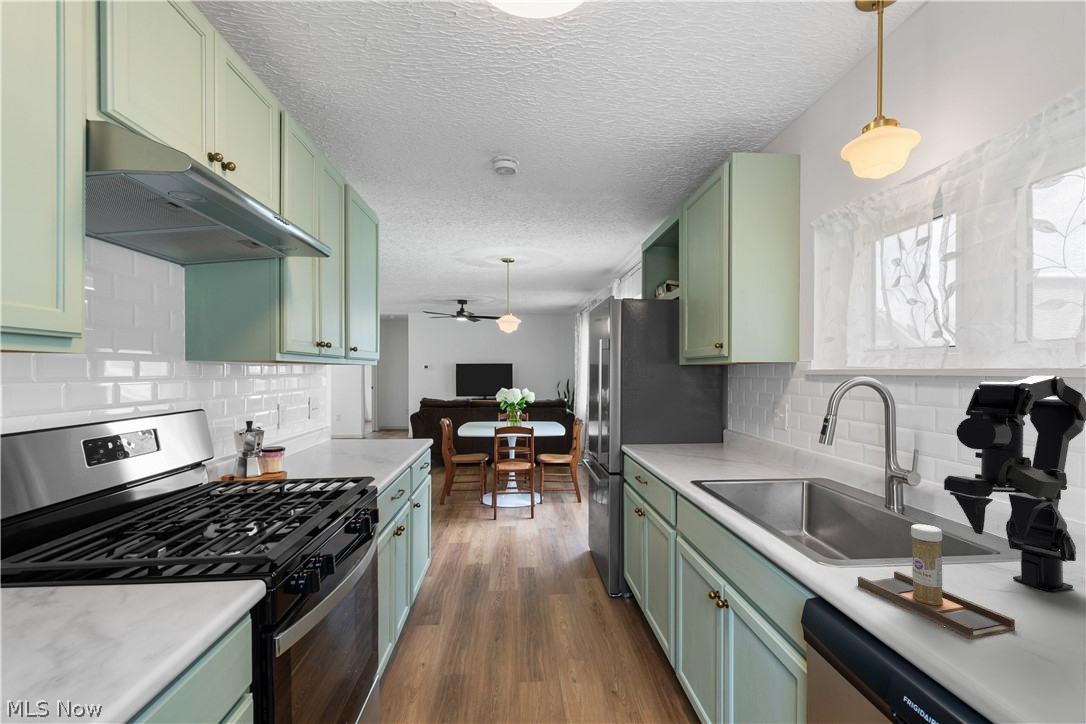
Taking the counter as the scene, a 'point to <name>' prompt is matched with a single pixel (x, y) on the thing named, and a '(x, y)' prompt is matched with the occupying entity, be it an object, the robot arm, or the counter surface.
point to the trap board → (941, 608)
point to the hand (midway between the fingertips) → (1000, 534)
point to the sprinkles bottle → (927, 564)
